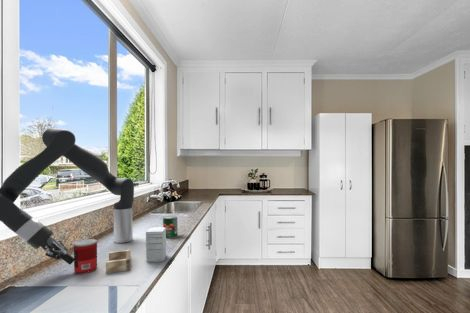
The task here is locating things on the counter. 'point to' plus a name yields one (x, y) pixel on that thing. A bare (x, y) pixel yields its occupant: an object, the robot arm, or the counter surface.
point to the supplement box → (155, 244)
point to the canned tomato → (170, 226)
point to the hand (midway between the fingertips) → (72, 261)
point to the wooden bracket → (118, 261)
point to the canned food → (85, 256)
